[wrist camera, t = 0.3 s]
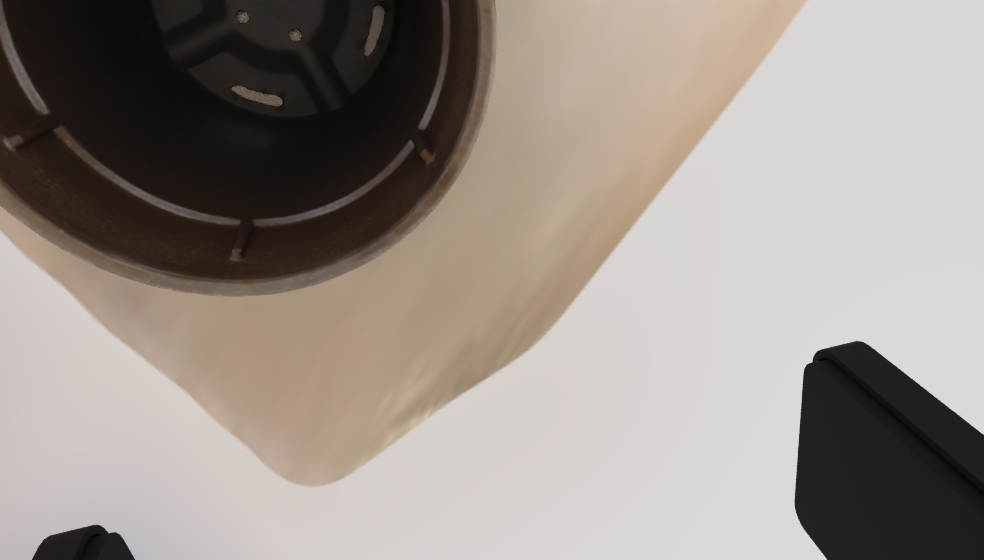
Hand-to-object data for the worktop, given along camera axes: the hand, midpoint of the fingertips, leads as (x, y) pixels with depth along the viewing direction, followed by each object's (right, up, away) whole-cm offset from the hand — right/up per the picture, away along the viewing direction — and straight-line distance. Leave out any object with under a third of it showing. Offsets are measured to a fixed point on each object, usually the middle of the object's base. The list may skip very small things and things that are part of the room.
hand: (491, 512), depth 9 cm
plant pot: (-11, +17, +24) cm, 31 cm away
